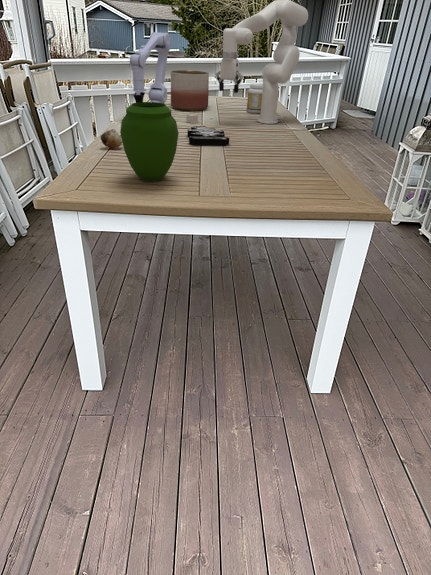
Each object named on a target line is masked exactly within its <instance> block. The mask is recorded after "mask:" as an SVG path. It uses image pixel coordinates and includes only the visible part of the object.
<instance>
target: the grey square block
mask: <svg viewBox="0 0 431 575" xmlns="http://www.w3.org/2000/svg"><path fill="white" fill-rule="evenodd" d="M185 116H186V117H185V118H186V119H185V120H186V121H185V122H186V123H187V124H191V125H192V124H197V123H198V122H199V115H198V114H195V113H189V114H186V115H185Z"/></svg>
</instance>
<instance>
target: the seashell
mask: <svg viewBox="0 0 431 575" xmlns="http://www.w3.org/2000/svg"><path fill="white" fill-rule="evenodd" d="M100 140H101V143H102V144H103V145H104V146H105V147H107V148H110V149H116V148H119V147H120V146H122V145H123V142H122V138H121V134H119V133H118V132H117V131H116V129H114V128H112V129H109V130H106V131H104V132H103V133H102V134H101V135H100Z"/></svg>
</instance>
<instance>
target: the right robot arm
mask: <svg viewBox="0 0 431 575" xmlns="http://www.w3.org/2000/svg"><path fill="white" fill-rule="evenodd" d="M278 20H280V22H281V27H282V33H281V36H280V38H279V41H278V42H277V45H276V47H275V48H274V51H273V56H272V57H273V61H274V62H276V63H273V62H270V63H267V64H266V65H264V67H263V68H262V84H263V92H262V102H261V113H259V118H257V119H256V122H257V123H259V124H266V125H275V124H278V122H279V120H284V115H278V114H277V111H278V102H279V95H280V94H279V93H280V89H279V88H280V86H279V84H287V82H288V81H289V80H290V79H291V76H292V75H293V73H294V71H295V69H296V68H297V65H298V62H299V60H300V55H301V52H300V49H299V47H298V46H297V45H295V43H296V41H297V30H296V29H297V28H296V27H302V26H304V25H305V24H307V22H308V20H309V12H308V9H307V8H305V7H304V6H302V5H300V4H298V3H296V2H294V1H293V0H273V1H272V2H270V3H269V4H268V5H266V6H265V7H263V9H261V10H260V11H258V12H257V13H255V14H253V15H252V16H251V15H250V16H249V17H247V18H245V19H243V20H241V21H240V22H238V23H236V24H235V25H234V26H232V28H228V27H226V28H223V32H222V33H223V34H222V58H221V61H220V68H219V70H218V71H217V72H216V73H215V77H216V80H217V81H218V88H219V92H223V91H224V88H225V87H224V86H225V82H224V81H233V83H234V84H233V93H234V94H238V93H239V87H240V86H239V85H240V84H241V83H242V81H243V79H244V75H243V74H241V72H240V62H239V61H240V60H239V59H238V58H239V57H240V55H239V53H238V45H240V46H247V45H249V44H251V43H252V41H253V38H254V33H259V32H262V31H266V30H267V29H268V28H269V27H270V26H272V25H273V24H274V23H276V21H278Z"/></svg>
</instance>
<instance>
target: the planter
mask: <svg viewBox="0 0 431 575" xmlns="http://www.w3.org/2000/svg"><path fill="white" fill-rule="evenodd" d="M209 84H210V73H209V72H207V71H203V70H202V71H201V70H200V71H199V70H188V69H187V70H182V69H181V70H171V71H170V107H171V108H173V109H174V110H177V111H183V112H184V111H185V112H202V111H205V110H207V109H208V108H209V87H210V85H209Z"/></svg>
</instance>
